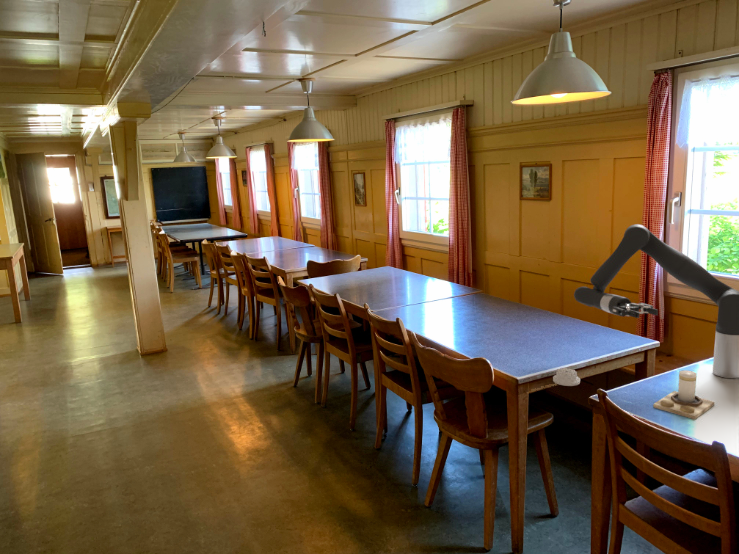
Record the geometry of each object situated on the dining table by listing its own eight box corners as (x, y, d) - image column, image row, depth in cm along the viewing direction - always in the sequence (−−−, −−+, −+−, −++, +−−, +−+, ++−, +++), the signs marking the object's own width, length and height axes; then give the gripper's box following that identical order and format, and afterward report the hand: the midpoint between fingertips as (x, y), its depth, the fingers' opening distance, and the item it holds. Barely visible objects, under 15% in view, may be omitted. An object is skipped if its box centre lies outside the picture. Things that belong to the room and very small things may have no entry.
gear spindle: (681, 396, 188) (683, 369, 186) (697, 400, 184) (699, 372, 182) (675, 400, 184) (676, 373, 183) (691, 404, 180) (693, 377, 179)
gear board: (674, 394, 193) (674, 388, 192) (714, 405, 183) (714, 398, 182) (653, 407, 183) (653, 401, 183) (694, 419, 173) (695, 413, 173)
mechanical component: (551, 384, 207) (578, 388, 203) (551, 374, 206) (579, 377, 202) (554, 375, 216) (581, 378, 211) (554, 365, 215) (581, 368, 211)
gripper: (601, 297, 209) (633, 306, 193) (630, 293, 213) (663, 301, 198) (600, 316, 210) (632, 326, 195) (629, 311, 214) (662, 321, 199)
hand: (648, 313), depth 196 cm, fingers open, 8 cm apart
